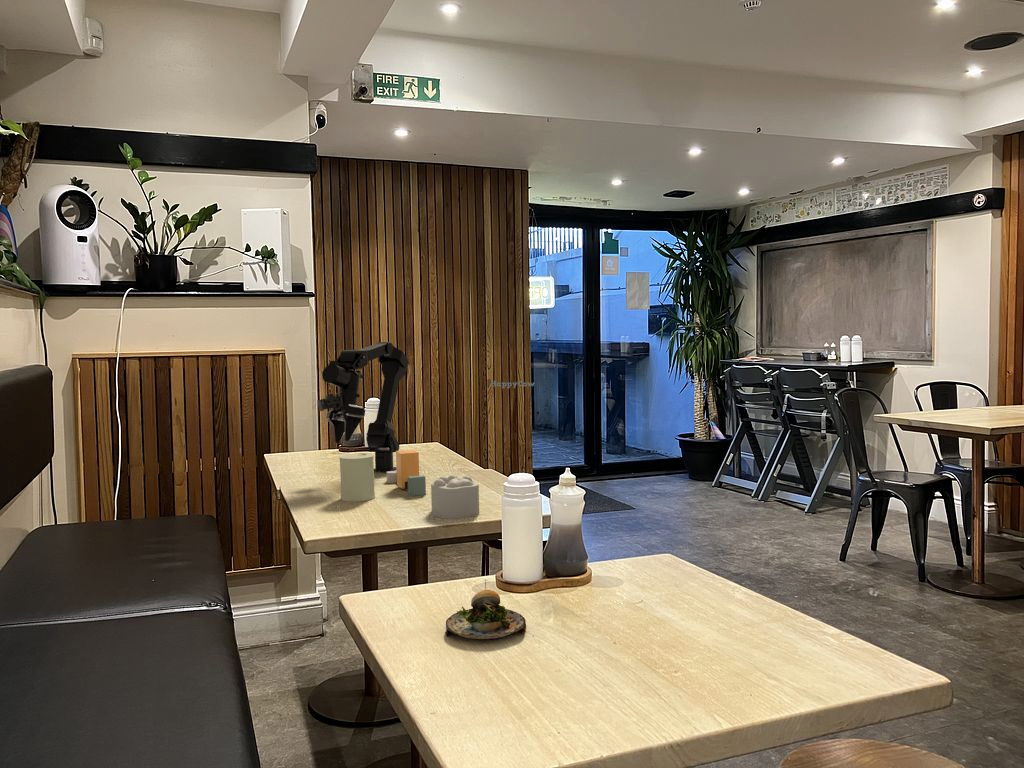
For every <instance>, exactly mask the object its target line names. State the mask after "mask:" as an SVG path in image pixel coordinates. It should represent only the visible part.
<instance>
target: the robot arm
mask: <svg viewBox="0 0 1024 768" xmlns="http://www.w3.org/2000/svg"><path fill="white" fill-rule="evenodd" d="M375 359H377V362H378V363H379V364H380V365H381V368H380V370H381V373H382V375H383V383H382V387H381V394H380V398H379V404H378V408H377V413H376V418H375V420H374V421H373V422H369V423H368V426H367V427H368V429H367V432H366V434H365V435H366V439H365V440H366V444H367V448H368V452H374V466H375V467H374V472H385V473H386V472H388V471H396V466H394V453H396V451H400V443H399V441H398V440H397V438H396V437H395V433H396V431H395V428H394V426H393V424H392V421H393V415H394V410H395V405H396V401H397V395H398V394H397V393H398V389H399V383H400V381H401V380H402V379H403V377H404V376H405V375H406V372H407V370H408V366H409V365H410V364H409V363H410V362H409V359H408V357H407V355H406V354H405V353H404V352H403V351H402V350H401V349H399V348H397V347H396V346H394V345H393V343H392V342H390V341H378V342H376V343H374V344H371V345H369V346H366V347H362V348H360V349H343V350H341V352H340V354H339V356H338V357H337V359H336V360H330V361H329V364H328V365H326V366H325V368H324V369H323V371H322V373H321V376H322V379H323V381H324V382H325V383H327V384H330V385H333V386H334V387H337V388H338V392H336V393H335V394H333V393H329V394H326V395H325V397H324V398H321V399H319V400H317V402H316V403H317V407H318V411H319V412H323V411H324V410H325V411H326V410H329V411H327V412H326V420H327V422H328V423H330V424H331V426H332V429H333V430H332V431H333V437H334V444H339V443H340V442H341V439H342V438H343V436H344V441H346V442H349V441H350V439H351V438H352V436H353V434H354V433H355V431H356V430H357V428H358V426H359V425H360V423H361V421H362V420H363V419H364V417H366V409H365V408H364V406H361V405H357V403H358V402H357V401H358V399H360V396H361V394H359V387H360V381H361V380H363V379H364V375H363V374H362V373H361V370H362V369H364V367H366V366H367V365H369V362H370V361H372V360H375ZM360 369H361V370H360Z"/></svg>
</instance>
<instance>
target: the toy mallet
mask: <svg viewBox="0 0 1024 768" xmlns="http://www.w3.org/2000/svg"><path fill="white" fill-rule="evenodd" d="M385 473H386V483H388V484H395V483H396V484H397V470H392V471H388V472H385ZM426 479H427V478H426V476H425V475H422V474H421V475H420V474H419V476H408V481H407V482H405V488H404V490H406V491H407V495H408V496H409V497H416V496H426V495H427V488H426V487H427V484H426Z"/></svg>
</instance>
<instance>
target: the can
mask: <svg viewBox="0 0 1024 768" xmlns="http://www.w3.org/2000/svg"><path fill="white" fill-rule="evenodd" d="M338 459H339V469H340V470H339V471H340V473H339V475H340V500H341V501H343V502H349V503H350V502H351V503H352V502H354V503H357V502H367V501H371V500H374V499H375V498H376V493H375V474H374V473H375V471H374V469H375V467H374V466H375V454H372V453H362V452H359V453H348V454H342V455H340V456H339V458H338Z"/></svg>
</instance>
